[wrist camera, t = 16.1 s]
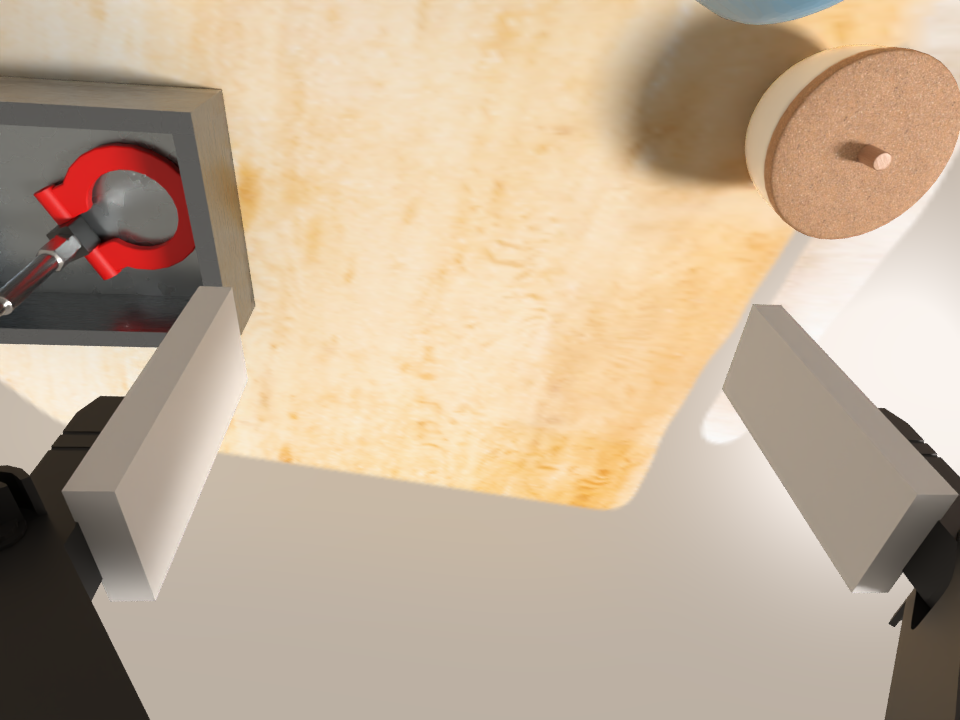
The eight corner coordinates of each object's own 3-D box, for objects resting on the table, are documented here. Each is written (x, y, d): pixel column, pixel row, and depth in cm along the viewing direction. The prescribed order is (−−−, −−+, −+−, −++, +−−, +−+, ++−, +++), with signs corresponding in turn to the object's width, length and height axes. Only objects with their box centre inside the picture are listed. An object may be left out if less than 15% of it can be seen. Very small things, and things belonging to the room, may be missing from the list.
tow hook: (154, 120, 39) (28, 176, 40) (61, 186, 28) (-109, 261, 29) (231, 237, 43) (116, 284, 44) (175, 332, 33) (26, 391, 34)
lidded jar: (856, -9, 37) (966, 5, 30) (898, 138, 43) (1000, 183, 35) (694, 100, 40) (756, 139, 33) (752, 225, 46) (816, 283, 38)
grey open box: (-32, 297, 45) (-89, 341, 40) (-135, 67, 36) (-223, 88, 32) (255, 305, 47) (234, 349, 42) (221, 89, 38) (190, 112, 33)
